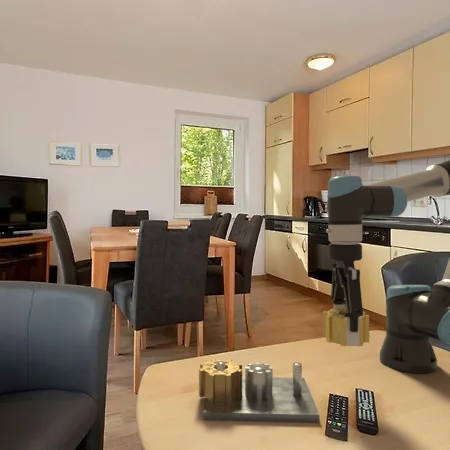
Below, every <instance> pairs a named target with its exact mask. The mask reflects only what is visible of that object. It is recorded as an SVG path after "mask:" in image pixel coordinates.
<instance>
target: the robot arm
mask: <svg viewBox="0 0 450 450" xmlns="http://www.w3.org/2000/svg"><path fill="white" fill-rule="evenodd" d="M362 181H363V180H362V177H360V176H358V175H341V176H340V175H338V176H334V177H331V178H329V181H328V182H327V183H328V184H327V196H326V198H327V201H326V207H327V219H328V220H327V222H328V223H327V227H328V228H326V230H325V232H326V233H327V234H328V241H329V242H330V243H329V244H328V246H327V248H328V249H327V251H328V259H329V260H330V261H336V262H332V264H331V266H332V274H331V276H332V277H331V279H332V280H331V292H330V299H331V300H332V304H333V309H347V313H345V314H344V317H346V346H345V347H360V346H359V317H360V316H363V312H364V308H363V300H362V299H363V298H362V290H361V288H362V287H361V271H360V269H356V267H355V261H356V262H358V261H361V260H362V259H363V245H362V244H361V242H362V241H363V223H362V222H363V218H391V217H399V216H401V215H402V214H403V213H404V212H405V210H406V209H407V206H408V202H412V201H416V200H419V199H424V198H427V197H430V196H432V197H435V198H440V197H444V196H450V159H449V160H446V161H443V162H440V163H437V164H432V165H430V166H428V167H427V168H425V170H423V171H419V172H414V173H411V174H405V175H402V176H398V177H394V178H390V179H385V180H381V181H377V182H372V183H369V184H364V185H363V182H362ZM385 305H386V306H385V313H386V317H385V322H386V323H385V324H386V325H385V326H386V331H385V337H384V340H383V341H382V345H381V348H380V351H379V361H380V362H381V363H382V364H383V365H384V366H386V367H388V368H391V369H394V370H397V371H400V372H405V373H413V374H429V373H434V372H436V371H437V370H438V360H437V355H436V353H435V351H434V350H435V349H434V347H433V343H432V341H431V340H432V339H435V340H437V341H441V342H442V343H444V344H446V345H449V346H450V257H449V258H448V261H447V264H446V268H445V271H444V273H443V276H442V278H441V280H440V281H437V282H435V283H434V284H433V286H432V287H431V286H430V285H427V284H395V285H390V286H389V287H388V288H387V290H386V298H385ZM431 338H432V339H431Z"/></svg>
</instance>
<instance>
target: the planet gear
mask: <svg viewBox="0 0 450 450" xmlns="http://www.w3.org/2000/svg"><path fill="white" fill-rule="evenodd" d="M322 313H323V314H322V325H323V326H322V332H323V333H322V337H323V338H325V339H326V340H325V342H327V343H328V344H330V343H333V344H336V345H337V344H338V345H340V347H347V346H346V317H344V314H345V313H347V309H346V308H345V309H334V308H330V309H329V310H323V312H322ZM365 343H367V344H369V343H370V315H369V314H366V312H365V311H363V316H360V317H359V346H358V347H363V346H364V344H365Z"/></svg>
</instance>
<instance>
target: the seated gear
mask: <svg viewBox="0 0 450 450" xmlns="http://www.w3.org/2000/svg"><path fill="white" fill-rule="evenodd" d="M218 361H224V362H225V370H217V362H218ZM199 367H200V368H198V397H200V398H205V399H206V398H207V399H208V402H212V403H214V402H215V401H224V402H226V403H230V402H231V400H232V399H235V398H241V397H242V377H243V365H242V363H241V362H239V363H236V362H235V361H233V360H232V359H230V358H229V359H226V360H224V359H217V358H212V359H210V361H207V362H203V361H202V362H201V363H200V364H199Z"/></svg>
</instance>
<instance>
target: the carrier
mask: <svg viewBox="0 0 450 450" xmlns="http://www.w3.org/2000/svg"><path fill="white" fill-rule="evenodd" d="M244 368H245V372H244V373H245V375H244V376H242V397H241V398H235V399H232V400H231V402H230V403H226V402H224V401H215V402H214V403H212V402H208V399H207V398H205V402H204V407H203V412H202V414H203V417H202V420H203V421H233V422H234V421H237V422H239V421H240V422H241V421H242V422H243V421H244V422H272V423H273V422H274V423H275V422H278V423H280V422H281V423H283V422H286V423H315V424H316V423H318V424H319V423H320V417H321V415H320V413H319V410H318V408H317V405H316V404H315V401H314V399H313V396H312V394H311V391H310V388H309V386H308V384H307V382H306V380H305V377H302V375H303V373H302V372H303V370H302V369H303V367H302V362H297V361H296V362H295V361H294V362H292V377H276V376H275V377H273V375H274V372H273V370H274V369H273V366H270V364H269V363H261V362H255V363H248V364H247V366H245V367H244ZM217 370H225V362H224V361H218V362H217Z"/></svg>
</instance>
